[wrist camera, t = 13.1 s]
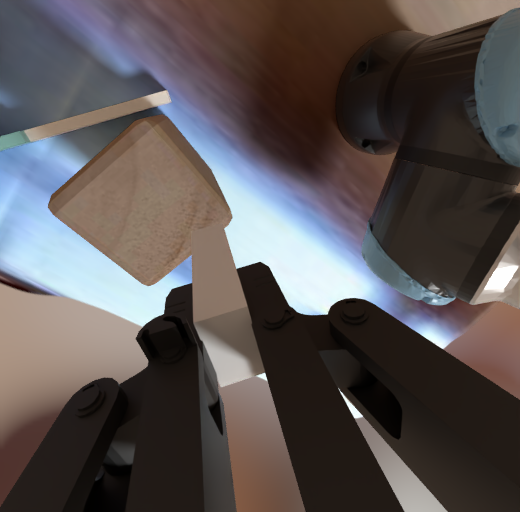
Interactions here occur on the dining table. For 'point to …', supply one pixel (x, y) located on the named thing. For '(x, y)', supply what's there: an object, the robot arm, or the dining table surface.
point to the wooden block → (143, 199)
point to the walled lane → (83, 120)
